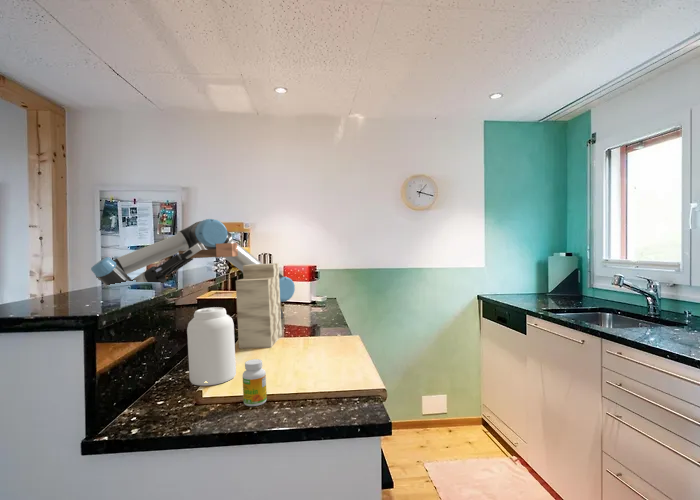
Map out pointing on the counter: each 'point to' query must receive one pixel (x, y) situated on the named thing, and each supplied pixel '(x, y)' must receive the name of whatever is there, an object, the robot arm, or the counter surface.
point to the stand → (259, 306)
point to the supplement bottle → (254, 383)
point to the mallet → (217, 251)
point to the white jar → (211, 347)
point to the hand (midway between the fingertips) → (201, 246)
